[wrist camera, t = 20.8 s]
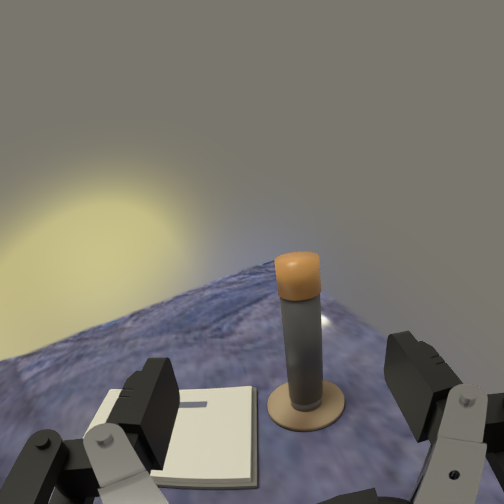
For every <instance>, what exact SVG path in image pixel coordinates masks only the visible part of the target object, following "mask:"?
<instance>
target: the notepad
mask: <svg viewBox="0 0 504 504" xmlns="http://www.w3.org/2000/svg"><path fill="white" fill-rule="evenodd" d="M120 392H121V390H119V389H110V390H109V392H108V394H107V396H106V397H105V399H104V401H103V403H102V404H101V406H100V408H99V410H98V412H97V413H96V415H95V417H94V419H93V420H92V422H91V424H90V426H89V428H88V430H87V431H86V433H87V432H88V431H89V430H90V429H91V428H92V427H94V426H96V425H99V424H103V423H105V422H106V420H107V418H108V416H109V414H110V412H111V410H112V408H113V406H114V404H115V402H116V400H117V398H119V394H120ZM179 393H180V405H179V409H178V413H177V416H176V420H175V424H174V428H173V432H172V436H171V440H170V443H169V447H168V451H167V455H166V459H165V463H164V467H163V471H161V470H151V473H150V476H151V478H152V479H153V481H154V482H155V484H156V485H157V487H165V488H180V489H211V490H222V489H253V488H258V481H257V388H252V386H244V387H231V388H215V389H193V390H179ZM86 433H85V434H86ZM84 436H85V435H84ZM83 438H84V437H83Z"/></svg>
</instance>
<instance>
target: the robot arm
mask: <svg viewBox="0 0 504 504" xmlns="http://www.w3.org/2000/svg"><path fill="white" fill-rule="evenodd" d="M384 376H385V381H386V383H387V385H388V387H389V389H390V391H391V393H392V395H393V397H394V398H395V400H396V402H397V404H398V406H399V408H400V410H401V412H402V414H403V416H404V417H405V419H406V421H407V423H408V425H409V427H410V429H411V431H412V433H413V435H414V437H415V439H416V441H417V443H419V442H422V441H425V440H428V439H429V441H430V443H431V445H430V448H429V450H428V453H427V456H426V459H425V462H424V464H423V467H422V470H421V472H420V475H419V477H418V480H417V482H416V485H415V487H414V489H413V492H412V494H411V496H410V498H409V500H408V501H407V500H404V499H400V498H394V497H377V493H376V490H375V488H371V489H367V490H363V491H358V492H354V493H349V494H344V495H339V496H336V497H334V498H331V499H329V500H326V501H323V502H321V503H318V504H475V501H476V497H477V493H478V489H479V485H480V480H481V476H482V471H483V466H484V461H485V457H486V458H487V460H488V462H489V464H490V466H491V468H492V470H493V472H494V474H495V475H496V477H497V479H498V481H499V483H500V485H501V487H502V489H503V491H504V393H498V394H486V393H485V391H484V390H483V389H482V388H480V387H479V386H476V385H473V384H463V383H462V382H461V380H460V379H459V378H458V377H457V375H456V374H455V373H454V372H453V370H452V369H451V368H450V367H449V366H448V364H447V363H445V361H444V360H443V358H442V357H441V356H439V354H438V353H437V352H436V350H435V349H434V348H433V347H432V346H430V345H428V344H427V343H425V342H423V341H420V342H418V341H417V340H416V339H415V338H414V336H413V335H412V334H411V333H410V332H409V331H405V332H400V333H394V334H390V335H389V336H388V339H387V348H386V356H385V364H384ZM122 389H123V390H121V392H120V394H119V398H117V400H116V402H115V404H114V406H113V408H112V410H111V412H110V414H109V416H108V418H107V420H106V422H105V423H103V424H99V425H96V426H94V427H92V428H91V429H90V430H89V431H88V432H87V433H86V434H85V436H84V438H83V439H75V440H65V441H63V440H62V438H61V436H60V435H59V434H58V433H57V432H56V431H54V430H49V429H46V430H41V431H38V432H36V433H34V434H33V435H32V436H31V437H30V438H29V439H28V440H27V442H26V444H25V446H24V447H23V449H22V451H21V453H20V454H19V456H18V458H17V460H16V462H15V464H14V465H13V467H12V469H11V471H10V473H9V475H8V477H7V478H6V480H5V482H4V484H3V486H2V488H1V490H0V504H48V502H49V498H50V496H51V493H52V491H53V489H54V486H55V490H54V492H53V495H52V497H51V500H50V502H49V504H93V501H94V498H95V497H99V496H100V497H101V499H102V501H103V503H104V504H169V503H168V502H167V500H166V499H165V497H164V496H163V494H162V493H161V491H160V490H159V488H158V487H157V485H156V484H155V482H154V481H153V479H152V478H151V476H150V473H151V470H161V471H163V467H164V463H165V459H166V455H167V451H168V447H169V443H170V440H171V436H172V432H173V428H174V424H175V420H176V416H177V413H178V409H179V405H180V393H179V388H178V385H177V382H176V378H175V375H174V371H173V368H172V364H171V361H170V359H169V358H148V359H147V361H146V363H145V365H144V367H143V369H142V371H136V372H135V373H133V374H132V375H131V376H130V377H129V378H128V379H127V380H126V382H125V384H124V386H123V388H122Z"/></svg>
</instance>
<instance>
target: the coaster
mask: <svg viewBox="0 0 504 504" xmlns="http://www.w3.org/2000/svg"><path fill="white" fill-rule="evenodd" d="M267 406H268V413H269V416H270V417H271V419H272V420H273V421H274V422H275V423H276V424H277V425H279V426H280V427H283V428H285V429H288V430H291V431H298V432H308V431H315V430H319V429H322V428H324V427H327V426H329V425H330V424H332V423H333V422H335V421H336V420H337V419H338V418H339V417H340V415H341V414H342V412H343V409H344V395H343V393H342V391H341V390H340V389H339V388H338V387H337V386H336V385H335V384H333V383H331V382H329V381H326V380H323V395H322V403H321V405H320V406H319V407H318V408H317V409H315V410H313V411H310V412H300V411H297V410H295V409H294V408H293V407H292V406H291V399H290V397H289V388H288V382H287V383H285V384H283V385H281V386H279V387H278V388H277V389H275V390H274V391H273V392H272V394H271V395H270V397H269V399H268V404H267Z"/></svg>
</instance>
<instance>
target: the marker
mask: <svg viewBox="0 0 504 504" xmlns="http://www.w3.org/2000/svg"><path fill="white" fill-rule="evenodd" d="M319 264H320V263H319V255H318V254H316V253H313V252H292V253H286V254H283V255H280V256H278V257H277V258H275V268H276V278H277V287H278V295H279V296H280V303H281V313H282V323H283V334H284V344H285V355H286V366H287V377H288V388H289V397H290V399H291V406H292V407H293V408H294V409H295V410H297V411H300V412H310V411H313V410H315V409H317V408H318V407H319V406H320V405H321V403H322V395H323V363H322V328H321V305H320V292H321V280H320V265H319Z"/></svg>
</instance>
